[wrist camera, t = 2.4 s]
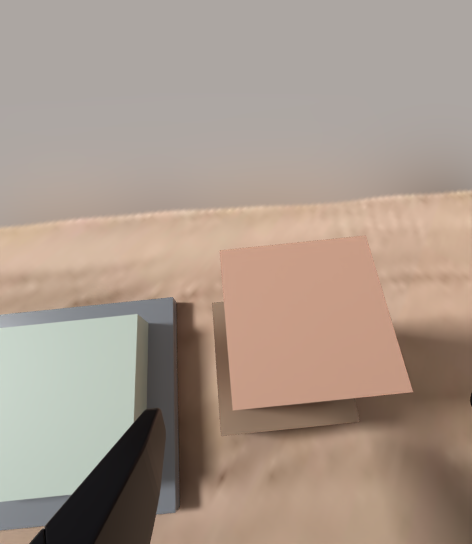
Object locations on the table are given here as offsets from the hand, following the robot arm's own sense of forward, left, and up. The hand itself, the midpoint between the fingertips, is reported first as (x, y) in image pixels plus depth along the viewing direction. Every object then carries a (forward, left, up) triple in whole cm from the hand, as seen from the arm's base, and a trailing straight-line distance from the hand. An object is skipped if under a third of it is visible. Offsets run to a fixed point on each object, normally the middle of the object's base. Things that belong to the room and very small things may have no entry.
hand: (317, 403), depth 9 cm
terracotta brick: (+2, -1, -6) cm, 7 cm away
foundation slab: (+5, +10, -8) cm, 14 cm away
